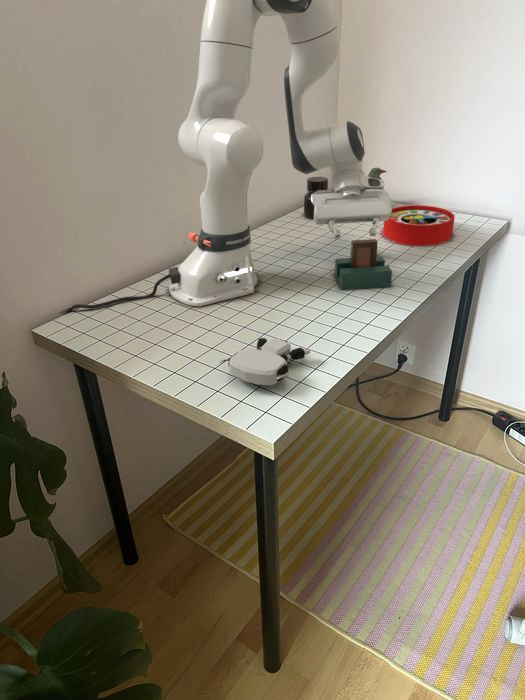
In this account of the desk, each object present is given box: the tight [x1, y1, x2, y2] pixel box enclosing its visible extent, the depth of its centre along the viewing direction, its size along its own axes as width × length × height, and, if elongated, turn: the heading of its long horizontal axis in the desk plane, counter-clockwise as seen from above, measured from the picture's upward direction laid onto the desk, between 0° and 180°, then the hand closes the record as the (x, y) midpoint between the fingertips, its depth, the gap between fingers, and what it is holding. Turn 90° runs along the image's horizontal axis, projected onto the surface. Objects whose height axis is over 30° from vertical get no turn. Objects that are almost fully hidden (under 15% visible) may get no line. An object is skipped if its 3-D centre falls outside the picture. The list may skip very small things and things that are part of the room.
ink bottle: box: [303, 176, 329, 220], centre depth 182 cm, size 10×9×12 cm
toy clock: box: [382, 204, 455, 247], centre depth 164 cm, size 20×6×20 cm
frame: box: [349, 238, 378, 268], centre depth 135 cm, size 2×6×9 cm, turn 94°
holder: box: [334, 255, 393, 291], centre depth 137 cm, size 10×12×4 cm
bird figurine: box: [367, 167, 387, 180], centre depth 184 cm, size 13×10×20 cm
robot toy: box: [218, 337, 311, 386], centre depth 103 cm, size 12×4×15 cm
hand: (355, 236), depth 142 cm, fingers open, 8 cm apart
